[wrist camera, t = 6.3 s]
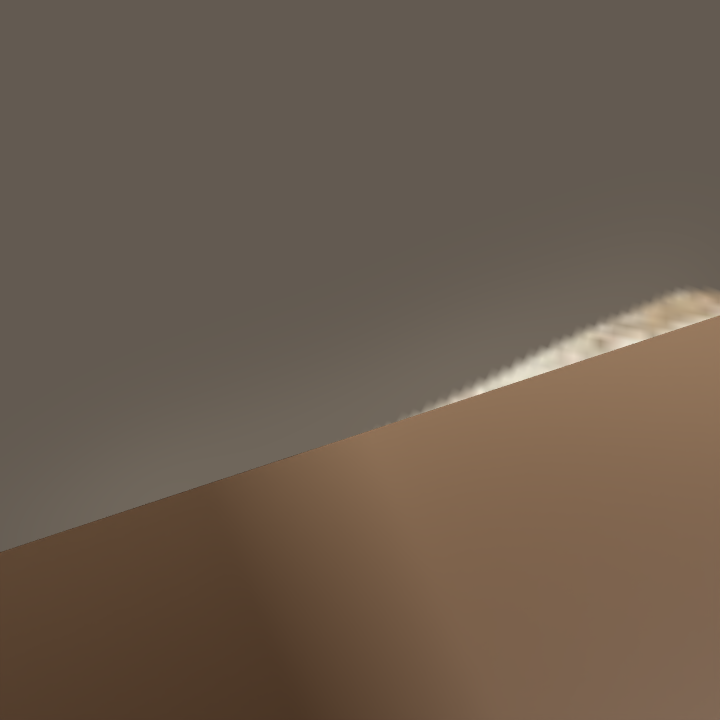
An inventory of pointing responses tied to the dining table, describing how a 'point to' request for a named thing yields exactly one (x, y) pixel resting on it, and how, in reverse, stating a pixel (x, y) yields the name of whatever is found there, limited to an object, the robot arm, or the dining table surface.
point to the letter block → (409, 568)
